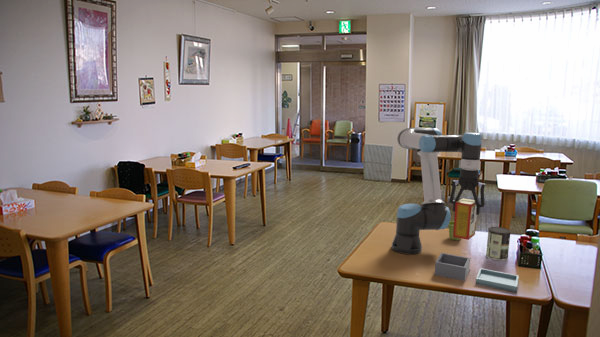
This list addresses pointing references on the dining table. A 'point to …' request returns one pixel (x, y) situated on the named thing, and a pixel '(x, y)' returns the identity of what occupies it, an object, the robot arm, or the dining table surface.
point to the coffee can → (498, 243)
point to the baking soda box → (464, 219)
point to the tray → (497, 280)
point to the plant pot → (451, 229)
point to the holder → (452, 266)
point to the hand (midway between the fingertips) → (465, 220)
